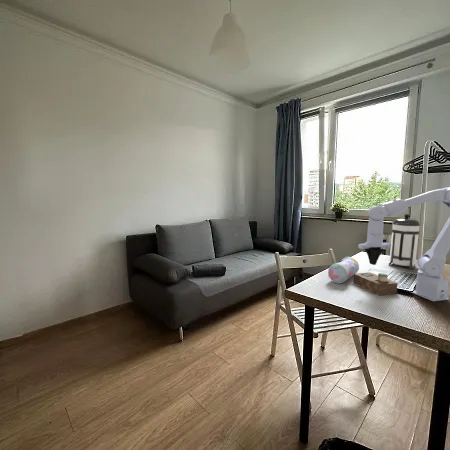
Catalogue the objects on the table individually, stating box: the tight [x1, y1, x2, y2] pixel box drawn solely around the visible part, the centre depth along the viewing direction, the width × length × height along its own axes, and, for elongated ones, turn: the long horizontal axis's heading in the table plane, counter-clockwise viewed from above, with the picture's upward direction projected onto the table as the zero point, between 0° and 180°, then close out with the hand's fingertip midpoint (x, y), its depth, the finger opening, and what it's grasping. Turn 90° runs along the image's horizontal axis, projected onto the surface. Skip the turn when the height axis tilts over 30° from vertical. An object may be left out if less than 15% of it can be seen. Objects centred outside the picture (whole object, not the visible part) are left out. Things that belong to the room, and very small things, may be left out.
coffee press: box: [388, 213, 421, 271], centre depth 134 cm, size 17×16×30 cm
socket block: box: [352, 271, 398, 296], centre depth 104 cm, size 14×9×4 cm, turn 12°
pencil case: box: [327, 256, 360, 284], centre depth 116 cm, size 21×9×10 cm, turn 137°
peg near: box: [377, 272, 388, 283], centre depth 100 cm, size 3×3×4 cm
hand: (372, 264), depth 105 cm, fingers closed
